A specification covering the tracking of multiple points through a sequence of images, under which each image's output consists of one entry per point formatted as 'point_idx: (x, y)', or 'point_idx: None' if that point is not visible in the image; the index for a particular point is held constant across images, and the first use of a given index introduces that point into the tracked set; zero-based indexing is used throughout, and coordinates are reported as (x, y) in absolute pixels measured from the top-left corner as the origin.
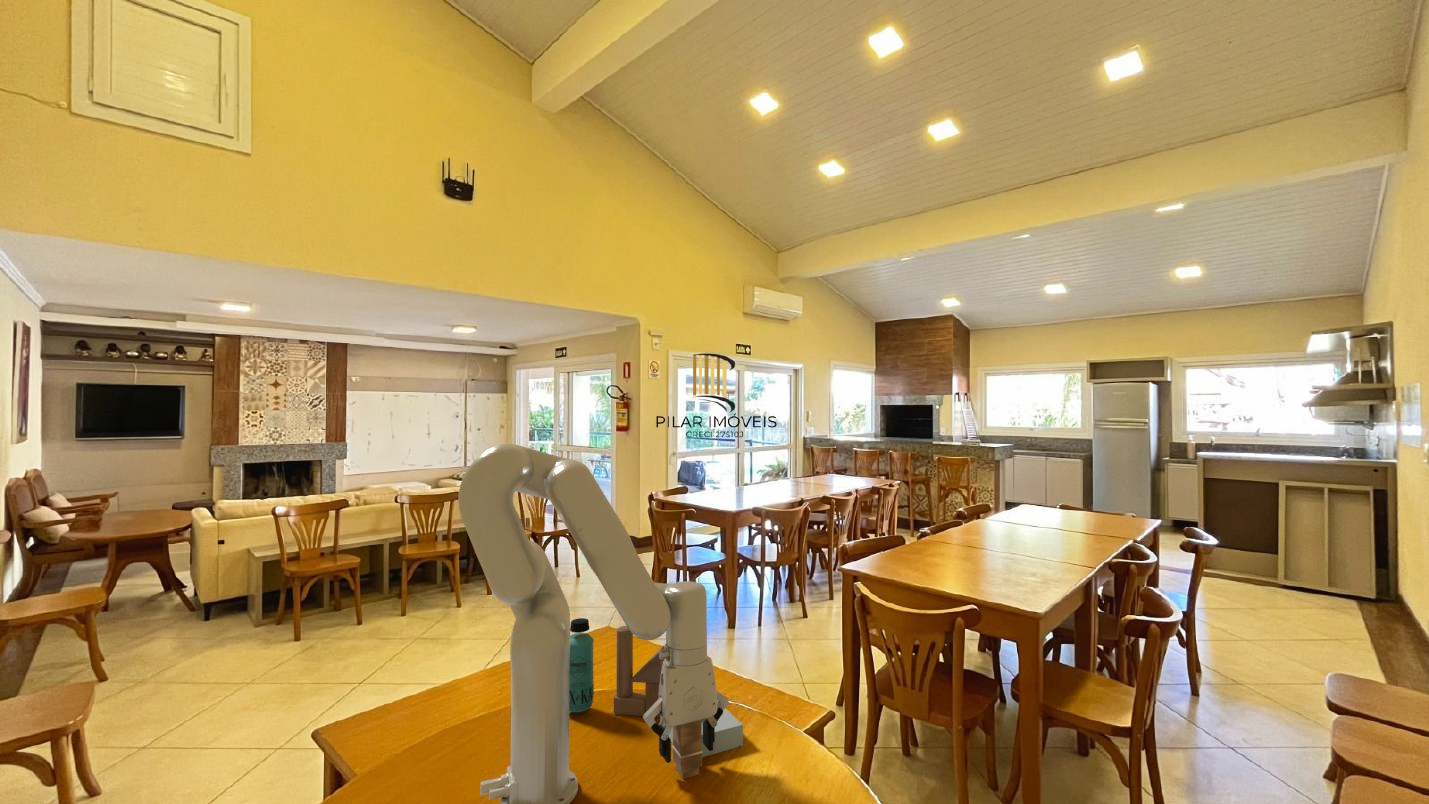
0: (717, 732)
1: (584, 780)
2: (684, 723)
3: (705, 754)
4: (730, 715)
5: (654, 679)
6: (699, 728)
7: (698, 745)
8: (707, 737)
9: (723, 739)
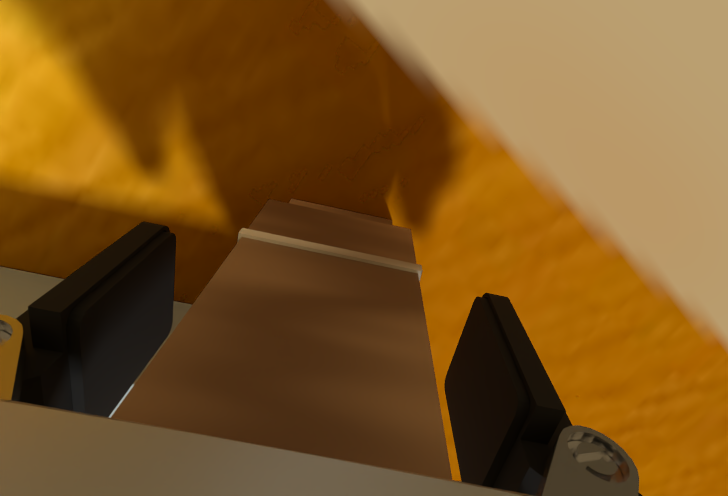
0: None
1: (725, 470)
2: (452, 482)
3: (173, 307)
4: None
5: None
6: (190, 356)
7: (258, 265)
8: (132, 302)
9: (17, 315)
